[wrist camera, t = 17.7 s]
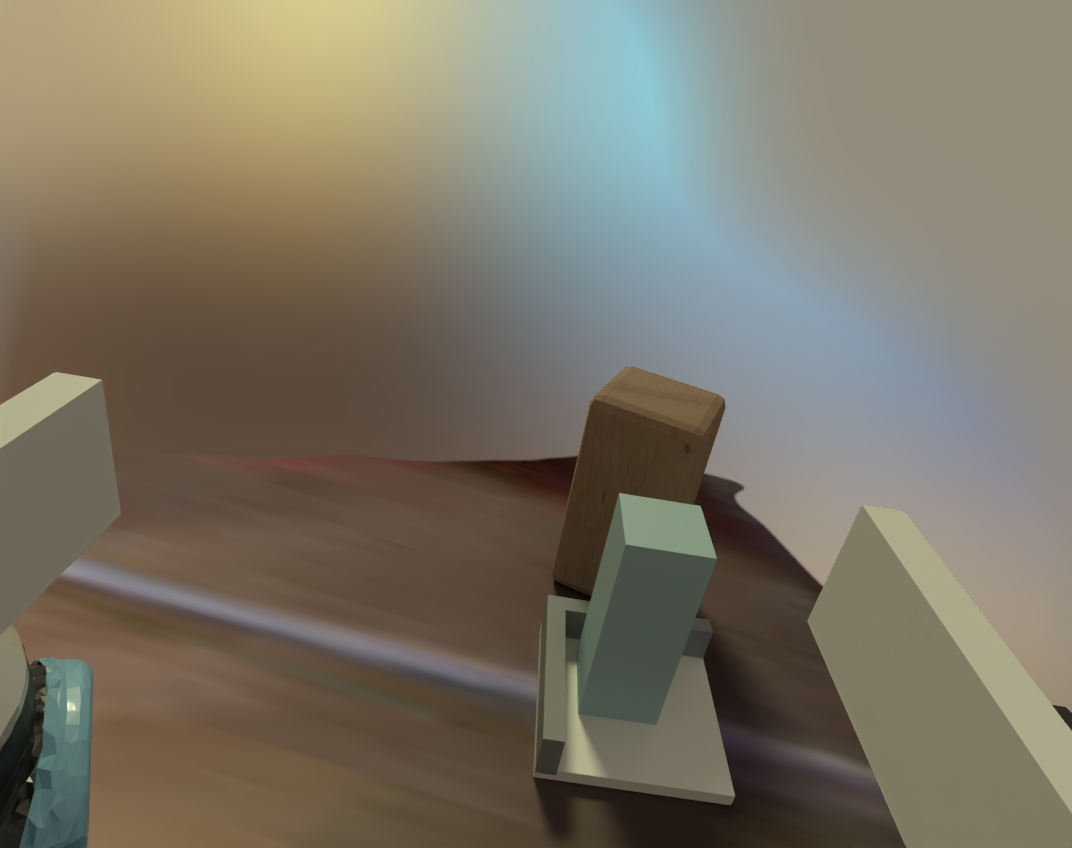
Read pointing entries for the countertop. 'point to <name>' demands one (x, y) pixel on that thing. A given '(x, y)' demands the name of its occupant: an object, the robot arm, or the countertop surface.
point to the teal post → (642, 607)
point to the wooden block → (633, 461)
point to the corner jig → (627, 722)
